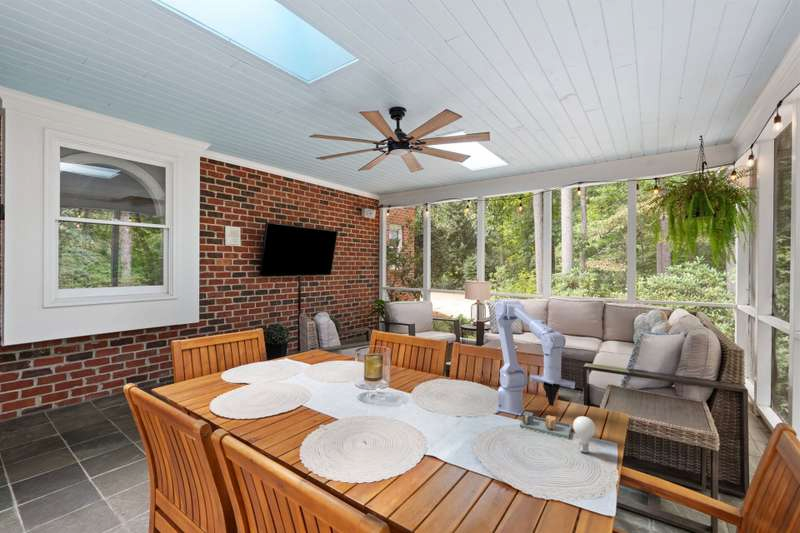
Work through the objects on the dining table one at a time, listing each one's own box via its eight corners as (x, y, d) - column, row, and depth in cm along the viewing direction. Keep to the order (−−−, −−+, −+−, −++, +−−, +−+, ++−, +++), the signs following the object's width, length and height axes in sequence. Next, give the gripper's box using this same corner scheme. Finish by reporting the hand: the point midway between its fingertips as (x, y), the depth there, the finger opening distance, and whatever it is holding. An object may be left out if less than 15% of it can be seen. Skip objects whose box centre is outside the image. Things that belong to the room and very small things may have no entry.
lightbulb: (593, 449, 116) (593, 414, 116) (596, 458, 110) (597, 422, 110) (571, 445, 118) (572, 411, 118) (573, 454, 112) (574, 419, 112)
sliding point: (544, 428, 127) (545, 419, 127) (547, 423, 131) (547, 415, 131) (554, 430, 126) (554, 421, 126) (555, 425, 130) (556, 417, 130)
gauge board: (519, 427, 131) (520, 416, 131) (525, 418, 139) (525, 407, 139) (568, 439, 123) (568, 426, 123) (571, 428, 131) (571, 416, 131)
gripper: (528, 365, 129) (527, 403, 128) (573, 372, 121) (573, 413, 121) (532, 361, 135) (531, 398, 135) (575, 367, 127) (574, 406, 127)
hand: (551, 404), depth 128 cm, fingers closed
